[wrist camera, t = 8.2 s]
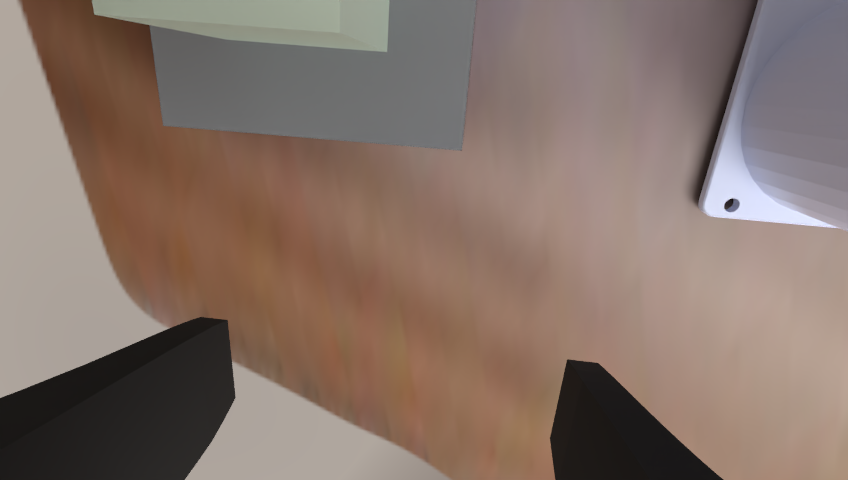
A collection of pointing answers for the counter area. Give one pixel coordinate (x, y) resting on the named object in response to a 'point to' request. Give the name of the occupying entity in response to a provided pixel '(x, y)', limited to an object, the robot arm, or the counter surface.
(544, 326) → the counter surface
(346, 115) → the stone base
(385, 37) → the green block
